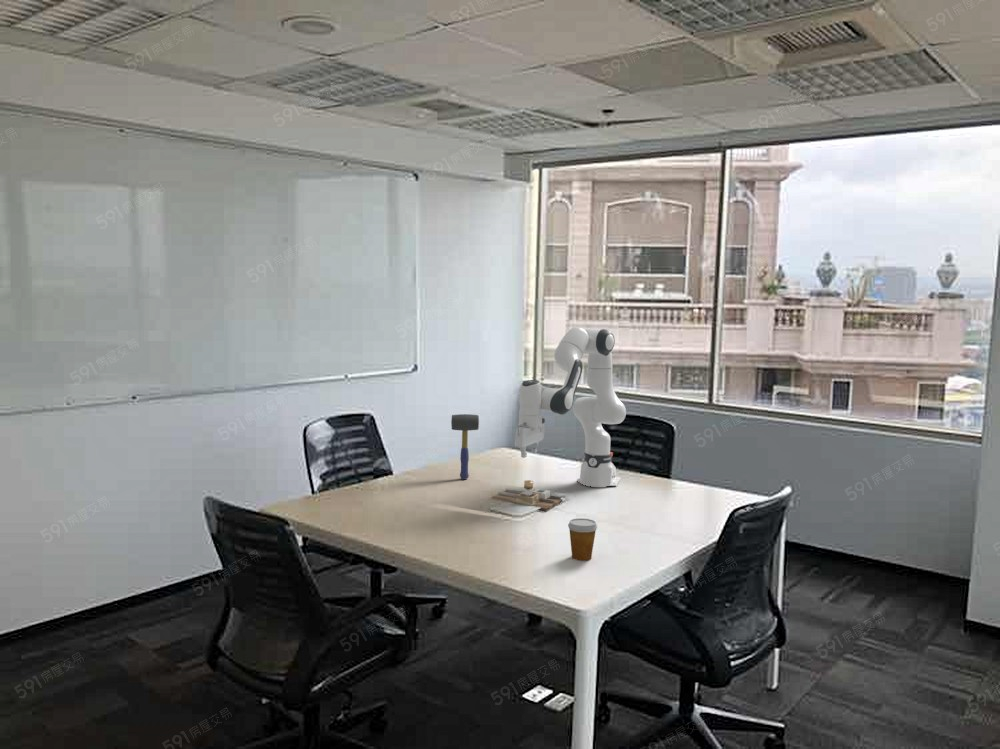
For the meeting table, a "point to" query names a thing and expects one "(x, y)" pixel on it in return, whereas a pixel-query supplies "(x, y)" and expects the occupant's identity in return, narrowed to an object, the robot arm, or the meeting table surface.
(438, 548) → the meeting table surface
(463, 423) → the rubber mallet
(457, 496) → the meeting table surface
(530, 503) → the socket
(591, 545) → the disposable coffee cup
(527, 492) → the grey and tan cylinder
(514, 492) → the board
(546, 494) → the block
